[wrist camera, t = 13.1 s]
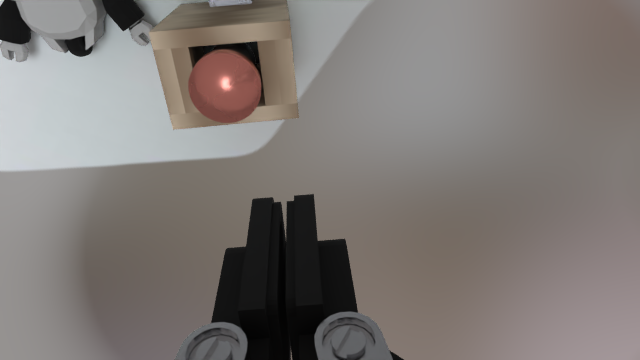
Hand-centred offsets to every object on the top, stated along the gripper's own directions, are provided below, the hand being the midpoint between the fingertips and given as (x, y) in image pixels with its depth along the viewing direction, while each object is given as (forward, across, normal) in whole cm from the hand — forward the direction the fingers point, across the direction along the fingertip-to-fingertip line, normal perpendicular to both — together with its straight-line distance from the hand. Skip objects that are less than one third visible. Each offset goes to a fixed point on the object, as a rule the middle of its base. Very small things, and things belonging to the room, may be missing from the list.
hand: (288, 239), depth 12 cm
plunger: (+20, +4, 0) cm, 21 cm away
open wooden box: (+26, +4, 0) cm, 27 cm away
